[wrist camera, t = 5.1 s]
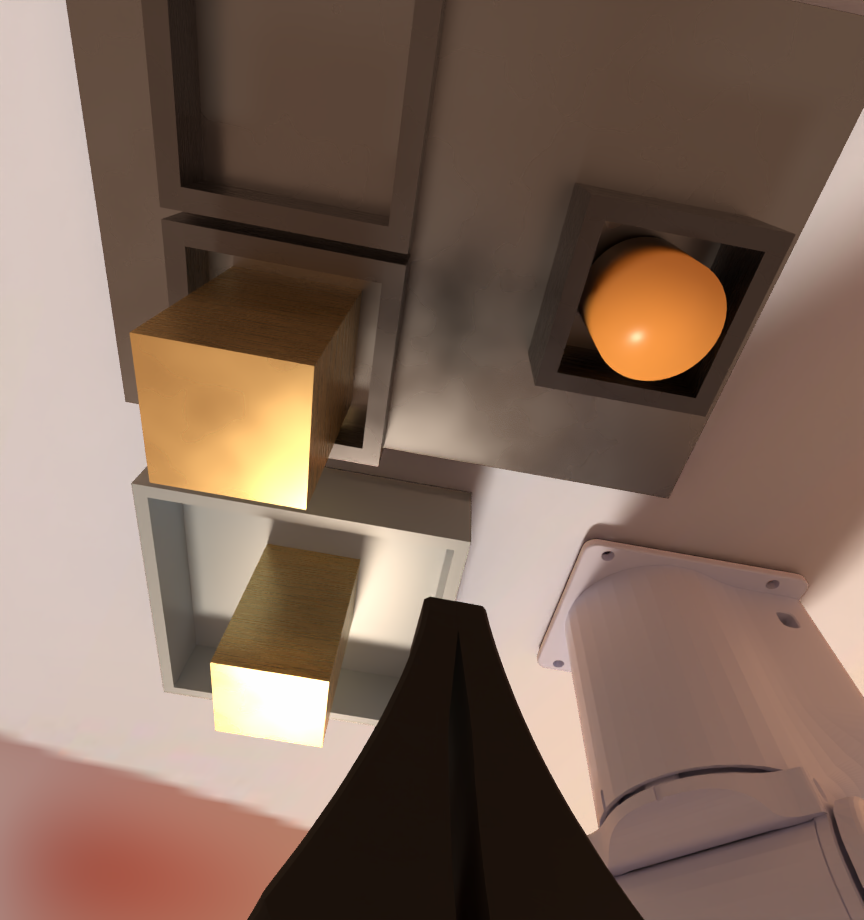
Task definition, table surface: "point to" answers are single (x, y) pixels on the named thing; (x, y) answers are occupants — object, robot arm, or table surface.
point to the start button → (652, 308)
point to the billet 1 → (247, 385)
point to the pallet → (468, 192)
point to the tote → (315, 529)
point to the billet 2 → (285, 647)
